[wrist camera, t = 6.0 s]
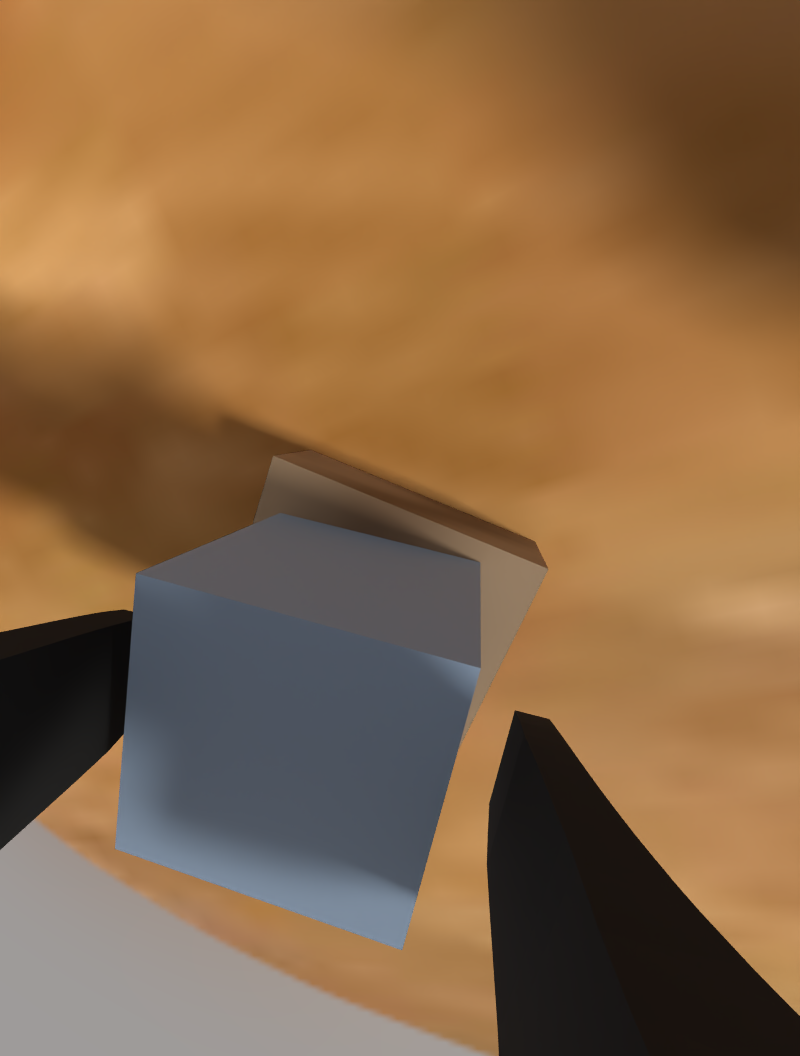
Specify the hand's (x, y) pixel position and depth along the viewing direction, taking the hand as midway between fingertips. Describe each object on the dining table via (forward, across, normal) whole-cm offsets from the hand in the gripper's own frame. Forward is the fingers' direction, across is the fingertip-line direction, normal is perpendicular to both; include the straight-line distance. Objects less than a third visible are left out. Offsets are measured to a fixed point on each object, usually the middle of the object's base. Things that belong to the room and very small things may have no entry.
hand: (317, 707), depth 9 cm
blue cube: (+3, 0, 0) cm, 3 cm away
